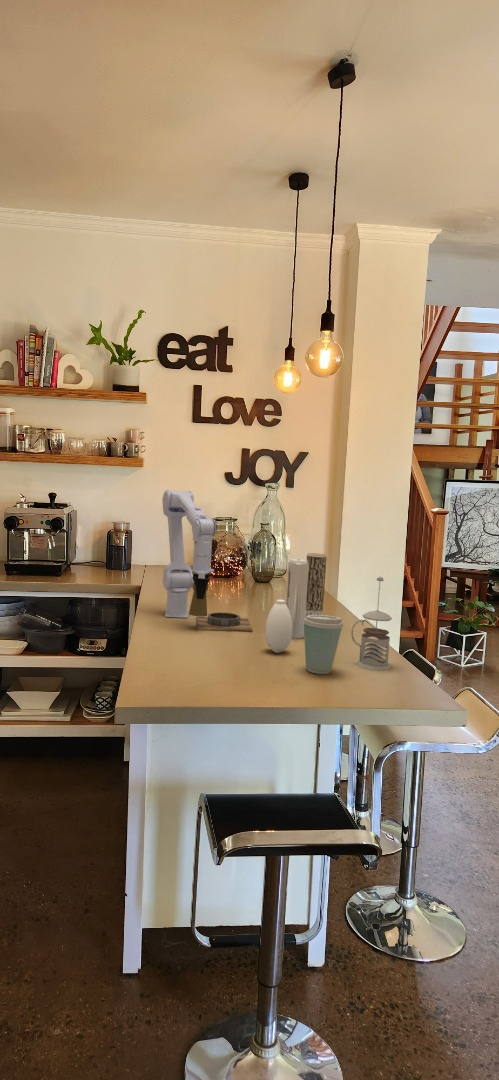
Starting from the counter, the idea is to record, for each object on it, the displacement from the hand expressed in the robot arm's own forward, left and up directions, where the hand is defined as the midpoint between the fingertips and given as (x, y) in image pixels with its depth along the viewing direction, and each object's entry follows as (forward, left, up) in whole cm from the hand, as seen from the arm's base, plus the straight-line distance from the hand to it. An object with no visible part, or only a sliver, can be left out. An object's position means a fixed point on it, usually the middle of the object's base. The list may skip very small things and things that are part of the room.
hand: (200, 597), depth 223 cm
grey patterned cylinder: (-11, +40, -11) cm, 42 cm away
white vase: (+26, +23, -11) cm, 36 cm away
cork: (0, 0, -6) cm, 6 cm away
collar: (-7, +9, -10) cm, 15 cm away
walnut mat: (-7, +9, -10) cm, 15 cm away
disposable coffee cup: (+44, +32, -11) cm, 55 cm away
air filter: (+6, +31, -11) cm, 33 cm away
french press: (+36, +48, -11) cm, 61 cm away
